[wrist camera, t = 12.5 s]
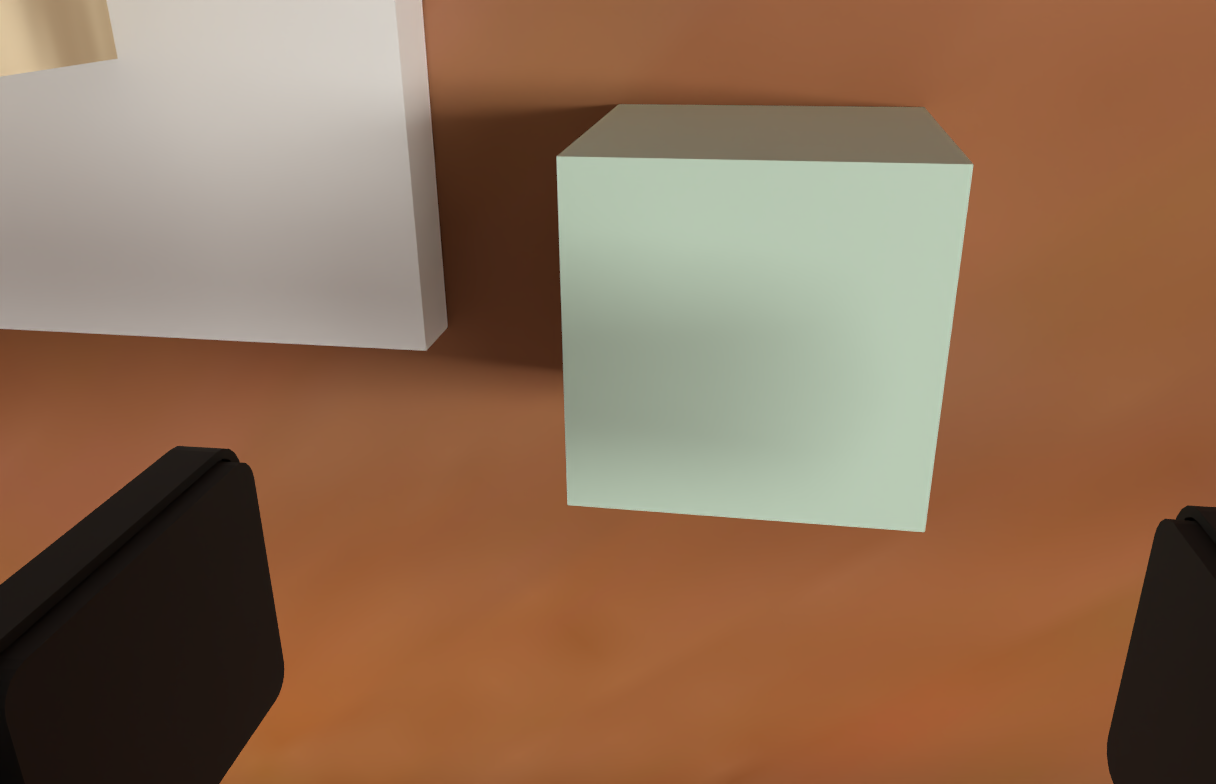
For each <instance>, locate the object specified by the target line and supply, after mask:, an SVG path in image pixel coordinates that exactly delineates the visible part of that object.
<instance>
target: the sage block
mask: <svg viewBox="0 0 1216 784" xmlns="http://www.w3.org/2000/svg"><path fill="white" fill-rule="evenodd" d="M556 160H557V191H558V222H559V254H560V285H561V316H562V347H563V379H564V410H565V441H566V472H567V504H568V505H574V506H587V507H600V508H613V509H627V510H640V511H653V512H666V513H679V514H692V515H706V516H719V517H732V518H745V519H758V520H771V521H784V522H798V523H811V524H824V525H837V526H850V527H863V528H877V529H890V530H903V531H916V532H925V526H926V519H927V511H928V504H929V496H930V489H931V481H932V473H933V466H934V458H935V451H936V443H937V436H938V428H939V420H940V413H941V405H942V398H943V390H944V383H945V375H946V368H947V360H948V352H949V345H950V337H951V330H952V322H953V315H954V307H955V299H956V292H957V284H958V277H959V269H960V262H961V254H962V247H963V239H964V231H965V224H966V216H967V209H968V201H969V194H970V186H971V178H972V171H973V163H972V162H971V161H970V160H969V159H968V158H967V156H966V155H965V154H964V153H963V152H962V151H961V149H960V148H959V147H958V146H957V145H956V144H955V142H954V141H953V140H952V139H951V138H950V137H949V135H948V134H947V133H946V132H945V131H944V130H943V129H942V127H941V126H940V125H939V124H938V123H937V122H936V120H935V119H934V118H933V117H932V116H931V115H930V113H929V112H928V111H927V110H926V109H925V108H924V107H857V106H758V105H659V104H618V105H617V106H616V107H615V108H614V109H612V110H611V111H610V112H609V113H608V114H606V115H605V116H604V117H603V118H602V119H600V120H599V121H598V122H597V123H596V124H595V125H593V126H592V127H591V128H590V129H589V130H587V131H586V132H585V133H584V134H583V135H581V136H580V137H579V138H578V139H577V140H575V141H574V142H573V143H572V144H571V145H569V146H568V147H567V148H566V149H565V150H563V151H562V152H561V153H560V154H559V155H557V156H556Z"/></svg>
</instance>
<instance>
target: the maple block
mask: <svg viewBox="0 0 1216 784" xmlns="http://www.w3.org/2000/svg"><path fill="white" fill-rule="evenodd" d="M112 59H118V57H117V52H116V47H115V42H114V37H113V32H112V26H111V21H110V16H109V11H108V6H107V1H106V0H0V77H1V76H8V75H14V74H21V73H27V72H34V71H40V70H47V69H53V68H60V67H66V66H73V65H79V64H86V63H92V62H99V61H106V60H112Z"/></svg>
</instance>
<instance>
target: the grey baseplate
mask: <svg viewBox="0 0 1216 784" xmlns="http://www.w3.org/2000/svg"><path fill="white" fill-rule="evenodd" d="M106 1H107V6H108V11H109V16H110V21H111V26H112V32H113V37H114V42H115V47H116V52H117V57H118V59H112V60H106V61H99V62H92V63H86V64H79V65H73V66H66V67H60V68H53V69H47V70H40V71H34V72H27V73H21V74H14V75H8V76H1V77H0V329H16V330H35V331H54V332H74V333H93V334H112V335H132V336H151V337H170V338H190V339H209V340H228V341H248V342H267V343H286V344H305V345H325V346H344V347H363V348H383V349H402V350H421V351H426V350H427V349H428V348H429V347H430V346H431V345H432V344H433V343H434V342H435V341H436V340H437V339H438V338H439V336H440V335H441V334H442V333H443V332H444V331H445V330H446V329H447V328H448V323H447V310H446V297H445V285H444V272H443V260H442V247H441V235H440V222H439V210H438V197H437V184H436V172H435V159H434V147H433V134H432V122H431V109H430V96H429V84H428V71H427V59H426V46H425V34H424V21H423V9H422V0H106Z"/></svg>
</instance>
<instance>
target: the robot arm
mask: <svg viewBox="0 0 1216 784" xmlns="http://www.w3.org/2000/svg"><path fill="white" fill-rule="evenodd" d="M283 678H284V660H283V654H282V648H281V642H280V635H279V629H278V623H277V617H276V611H275V604H274V598H273V592H272V586H271V580H270V574H269V567H268V561H267V555H266V549H265V543H264V536H263V530H262V524H261V518H260V512H259V505H258V499H257V493H256V487H255V481H254V476H253V472H252V470H251V468H250V466H249V465H247V464H246V463H240V462H239V459H238V458H237V456H236V454H235V453H234V452H233V451H231V450H230V449H220V448H203V447H186V446H177V447H175V448H173V449H171V450H170V451H168V452H167V453H166V454H165V455H163V456H162V457H161V458H160V459H158V460H157V461H156V462H155V463H153V464H152V465H151V466H150V467H148V468H147V469H146V470H145V471H143V472H142V473H141V474H139V475H138V476H137V477H136V478H134V479H133V480H132V481H131V482H129V483H128V484H127V485H126V486H124V487H123V488H122V489H121V490H119V491H118V492H117V493H116V494H114V495H113V496H112V497H110V498H109V499H108V500H107V501H105V502H104V503H103V504H102V505H100V506H99V507H98V508H97V509H95V510H94V511H93V512H92V513H90V514H89V515H88V516H87V517H85V518H84V519H83V520H82V521H80V522H79V523H78V524H76V525H75V526H74V527H73V528H71V529H70V530H69V531H68V532H66V533H65V534H64V535H63V536H61V537H60V538H59V539H58V540H56V541H55V542H54V543H53V544H51V545H50V546H49V547H48V548H46V549H45V550H44V551H42V552H41V553H40V554H39V555H37V556H36V557H35V558H34V559H32V560H31V561H30V562H29V563H27V564H26V565H25V566H24V567H22V568H21V569H20V570H19V571H17V572H16V573H15V574H13V575H12V576H11V577H10V578H8V579H7V580H6V581H5V582H3V583H2V584H1V585H0V784H219V783H220V782H221V780H222V779H223V777H224V776H225V774H226V773H227V771H228V770H229V768H230V767H231V765H232V764H233V763H234V761H235V760H236V758H237V757H238V755H239V754H240V752H241V751H242V749H243V748H244V746H245V745H246V743H247V742H248V740H249V739H250V737H251V736H252V735H253V733H254V732H255V730H256V729H257V727H258V726H259V724H260V723H261V721H262V720H263V718H264V717H265V715H266V714H267V712H268V711H269V709H270V708H271V706H272V705H273V704H274V702H275V701H276V699H277V697H278V695H279V693H280V690H281V687H282V683H283ZM1107 759H1108V766H1109V771H1110V775H1111V778H1112V781H1113V783H1114V784H1216V507H1202V506H1186V507H1185V508H1183V509H1182V510H1181V511H1180V513H1179V514H1178V516H1177V518H1176V520H1173V519H1164V520H1163V521H1161V522H1160V524H1159V525H1158V527H1157V530H1156V533H1155V536H1154V540H1153V545H1152V549H1151V553H1150V558H1149V562H1148V566H1147V571H1146V575H1145V579H1144V584H1143V588H1142V592H1141V597H1140V601H1139V605H1138V610H1137V614H1136V618H1135V623H1134V627H1133V631H1132V636H1131V640H1130V644H1129V649H1128V653H1127V657H1126V662H1125V666H1124V670H1123V675H1122V679H1121V683H1120V688H1119V692H1118V696H1117V701H1116V705H1115V709H1114V714H1113V718H1112V722H1111V727H1110V731H1109V735H1108V742H1107Z"/></svg>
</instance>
